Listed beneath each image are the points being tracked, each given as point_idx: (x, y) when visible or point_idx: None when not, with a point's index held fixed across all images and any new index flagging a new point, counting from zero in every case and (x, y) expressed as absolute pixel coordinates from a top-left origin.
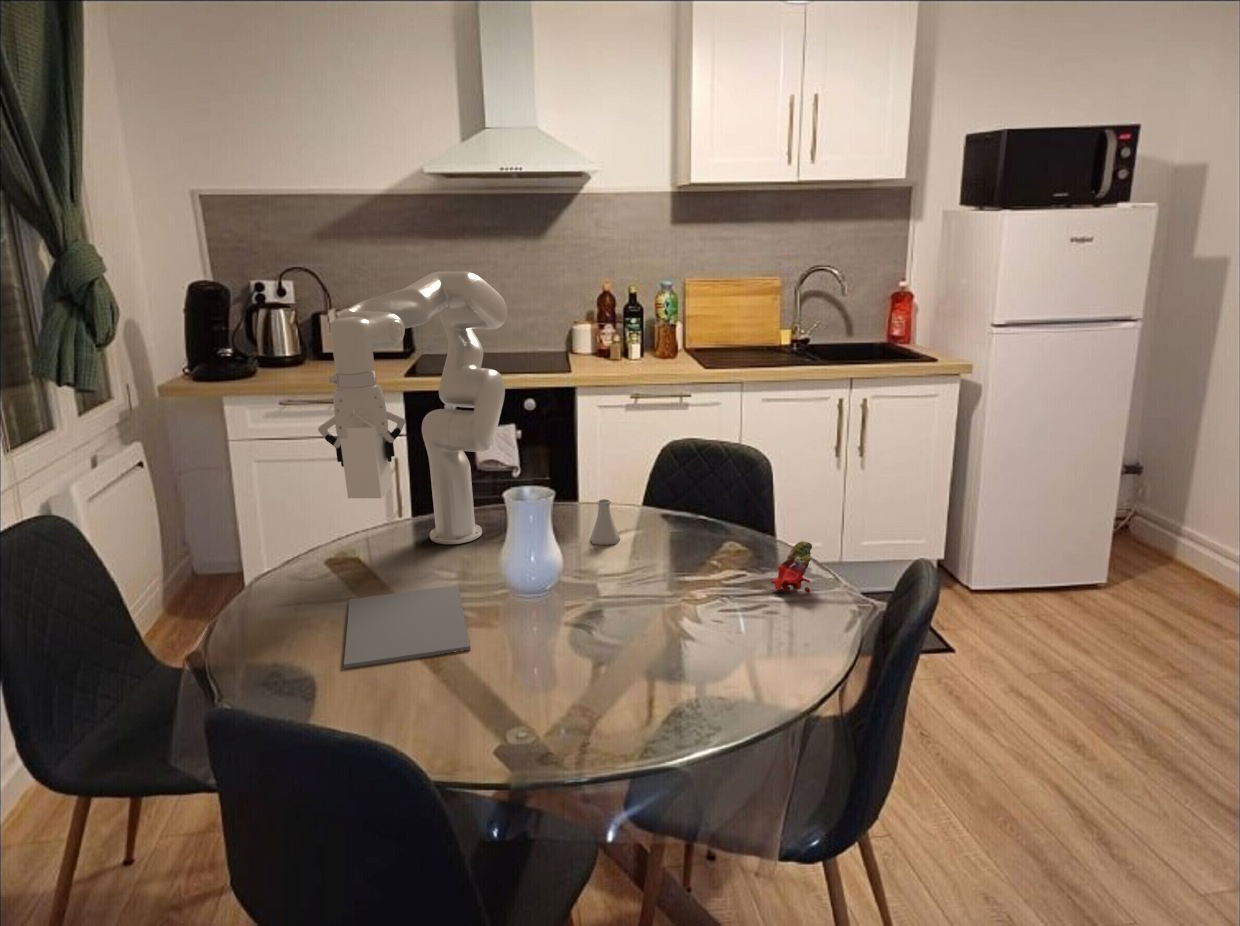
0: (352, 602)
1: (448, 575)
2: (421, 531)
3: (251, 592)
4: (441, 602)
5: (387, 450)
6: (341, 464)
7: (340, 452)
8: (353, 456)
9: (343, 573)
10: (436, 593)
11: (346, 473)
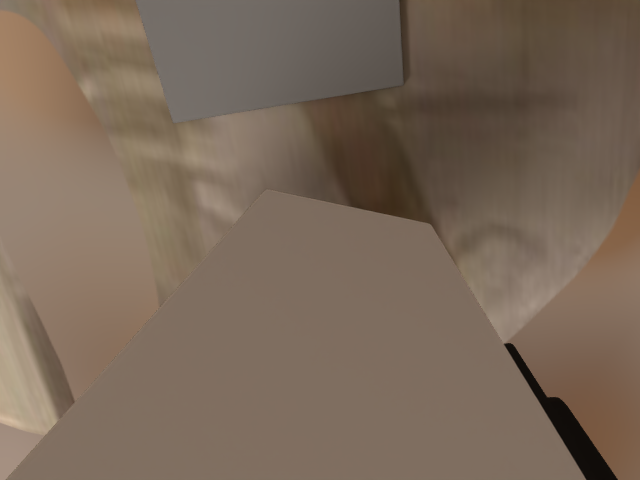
0: (395, 63)
1: (213, 196)
2: None
3: (629, 187)
4: (186, 26)
5: None
6: (516, 354)
7: (578, 461)
8: (409, 369)
9: None
10: (209, 83)
11: (458, 288)
